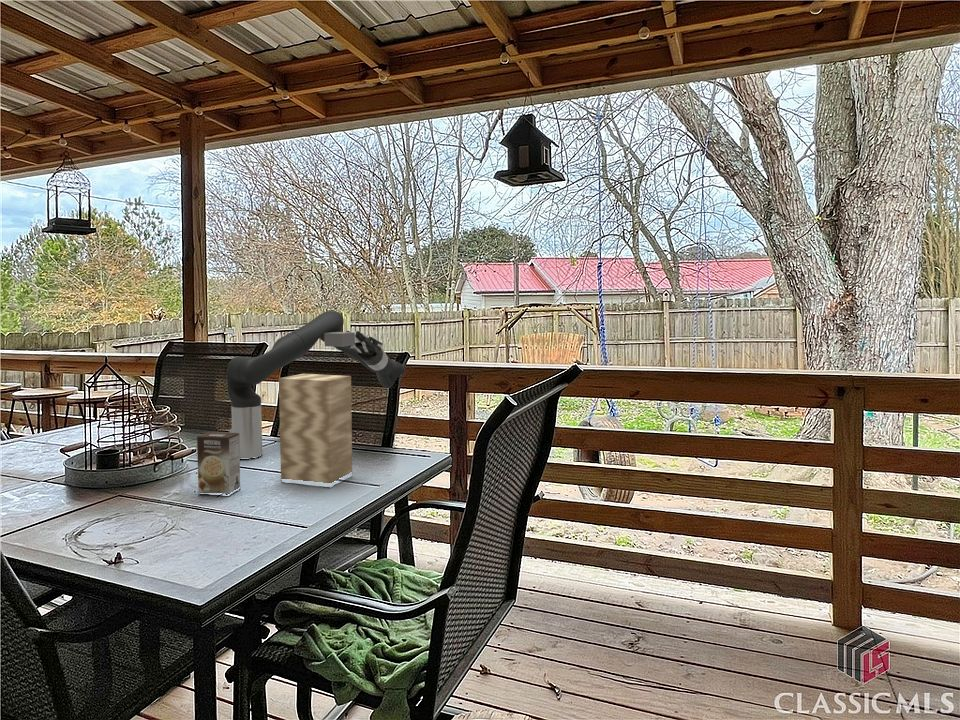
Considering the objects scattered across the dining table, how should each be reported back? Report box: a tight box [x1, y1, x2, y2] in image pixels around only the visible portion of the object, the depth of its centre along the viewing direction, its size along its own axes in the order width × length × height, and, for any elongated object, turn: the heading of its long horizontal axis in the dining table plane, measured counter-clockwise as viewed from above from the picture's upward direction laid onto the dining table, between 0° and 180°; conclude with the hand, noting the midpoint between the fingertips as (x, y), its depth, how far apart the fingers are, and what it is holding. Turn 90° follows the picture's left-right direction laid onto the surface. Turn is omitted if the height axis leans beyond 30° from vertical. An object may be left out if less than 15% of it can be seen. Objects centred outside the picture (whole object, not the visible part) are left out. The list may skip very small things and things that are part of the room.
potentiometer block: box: [323, 331, 367, 348], centre depth 194 cm, size 6×18×4 cm, turn 162°
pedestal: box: [278, 373, 353, 483], centre depth 175 cm, size 16×12×30 cm
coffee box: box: [196, 431, 241, 494], centre depth 163 cm, size 9×6×16 cm
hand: (351, 333), depth 196 cm, fingers closed on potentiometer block, 3 cm apart
